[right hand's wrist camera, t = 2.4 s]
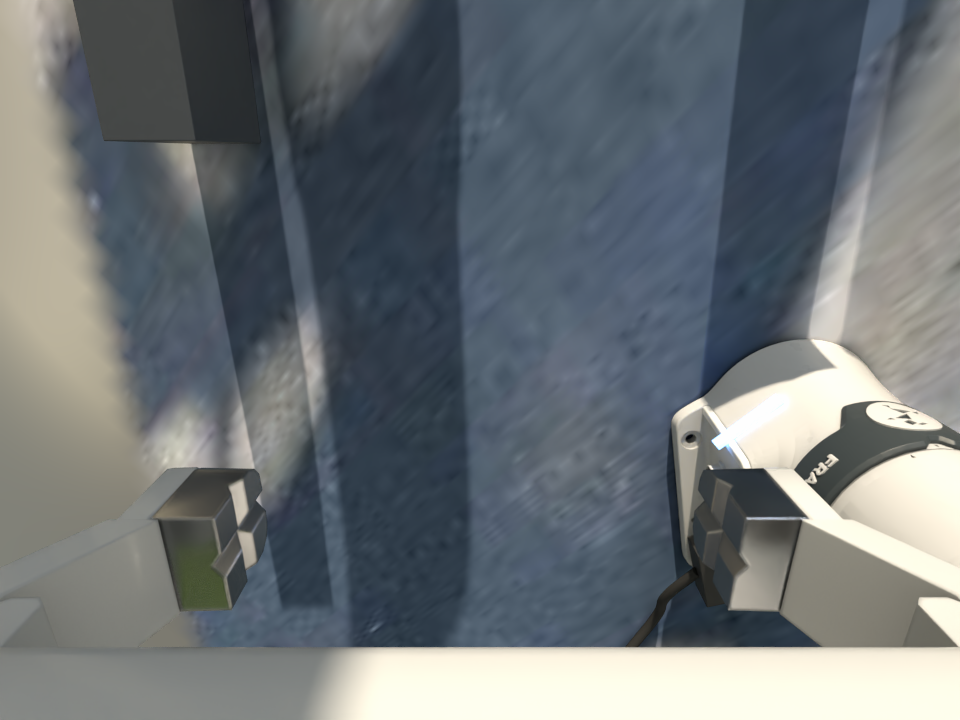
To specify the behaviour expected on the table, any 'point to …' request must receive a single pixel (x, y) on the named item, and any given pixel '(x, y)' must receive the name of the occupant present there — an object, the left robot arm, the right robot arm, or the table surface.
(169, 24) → the bar
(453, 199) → the table surface
